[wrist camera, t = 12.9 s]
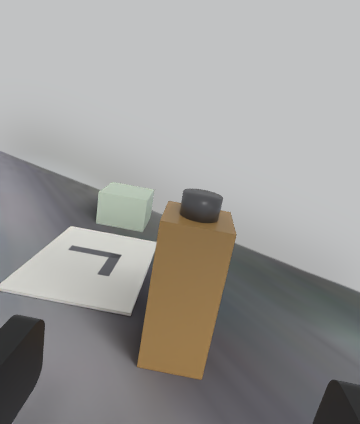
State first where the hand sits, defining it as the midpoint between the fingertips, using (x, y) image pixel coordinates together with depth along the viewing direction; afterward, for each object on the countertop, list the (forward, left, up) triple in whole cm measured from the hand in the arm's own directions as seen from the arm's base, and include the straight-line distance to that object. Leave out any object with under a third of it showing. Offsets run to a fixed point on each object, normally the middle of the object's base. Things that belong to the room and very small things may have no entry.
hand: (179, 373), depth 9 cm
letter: (+10, -24, -10) cm, 28 cm away
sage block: (+10, -39, -11) cm, 42 cm away
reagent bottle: (0, -13, -10) cm, 17 cm away
